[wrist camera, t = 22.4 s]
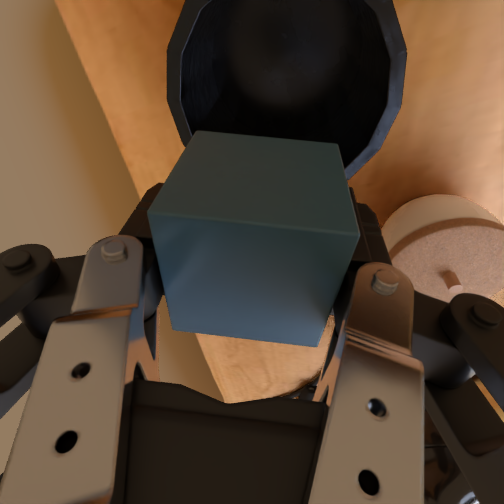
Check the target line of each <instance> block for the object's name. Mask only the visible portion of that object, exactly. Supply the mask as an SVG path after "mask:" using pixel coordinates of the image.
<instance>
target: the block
mask: <svg viewBox="0 0 504 504" xmlns="http://www.w3.org/2000/svg"><path fill="white" fill-rule="evenodd" d="M147 216H148V220H149V225H150V229H151V234H152V239H153V243H154V248H155V252H156V257H157V261H158V266H159V270H160V275H161V279H162V284H163V288H164V293H165V298H166V302H167V307H168V311H169V316H170V320H171V324H172V329H173V330H176V331H184V332H192V333H201V334H209V335H217V336H226V337H234V338H242V339H251V340H259V341H267V342H276V343H284V344H292V345H301V346H309V347H317V346H318V344H319V341H320V339H321V336H322V333H323V331H324V328H325V326H326V323H327V321H328V318H329V315H330V313H331V310H332V308H333V305H334V302H335V300H336V297H337V295H338V292H339V290H340V287H341V284H342V282H343V279H344V277H345V274H346V271H347V269H348V266H349V264H350V261H351V258H352V256H353V253H354V251H355V248H356V246H357V243H358V240H359V238H360V231H359V227H358V223H357V219H356V215H355V211H354V207H353V203H352V199H351V195H350V191H349V187H348V183H347V179H346V175H345V171H344V167H343V163H342V159H341V155H340V151H339V147H338V144H334V143H323V142H313V141H302V140H292V139H281V138H271V137H260V136H250V135H239V134H229V133H219V132H208V131H196V132H195V133H194V135H193V137H192V138H191V140H190V142H189V143H188V145H187V147H186V148H185V150H184V152H183V153H182V155H181V157H180V158H179V160H178V161H177V163H176V165H175V166H174V168H173V170H172V171H171V173H170V175H169V176H168V178H167V180H166V181H165V183H164V184H163V186H162V188H161V189H160V191H159V193H158V194H157V196H156V198H155V199H154V201H153V203H152V204H151V206H150V208H149V209H148V211H147Z"/></svg>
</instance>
